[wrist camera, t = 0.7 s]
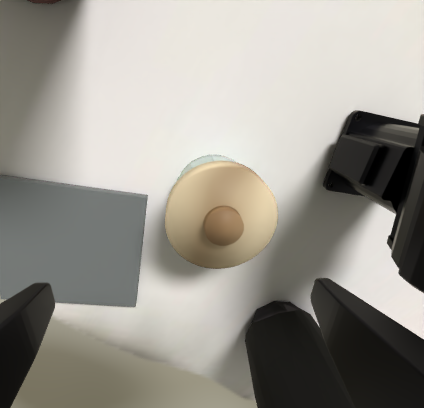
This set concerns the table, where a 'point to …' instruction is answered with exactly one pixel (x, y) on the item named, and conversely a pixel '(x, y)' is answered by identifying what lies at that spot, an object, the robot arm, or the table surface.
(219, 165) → the lid
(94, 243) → the mat
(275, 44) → the table surface
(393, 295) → the table surface
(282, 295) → the table surface
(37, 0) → the can
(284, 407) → the portable speaker
